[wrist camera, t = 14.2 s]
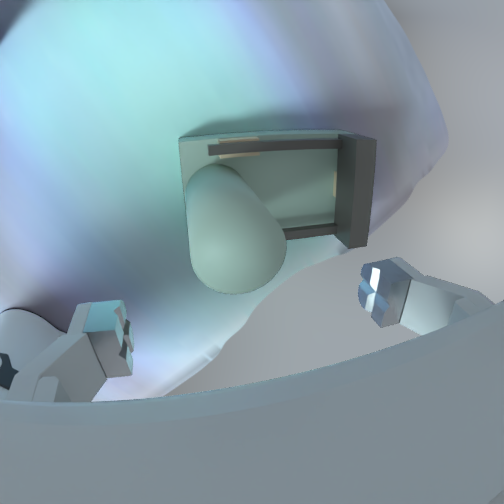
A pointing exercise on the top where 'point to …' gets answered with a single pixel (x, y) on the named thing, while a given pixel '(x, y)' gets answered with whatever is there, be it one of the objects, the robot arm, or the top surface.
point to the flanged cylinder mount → (252, 204)
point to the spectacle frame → (347, 185)
